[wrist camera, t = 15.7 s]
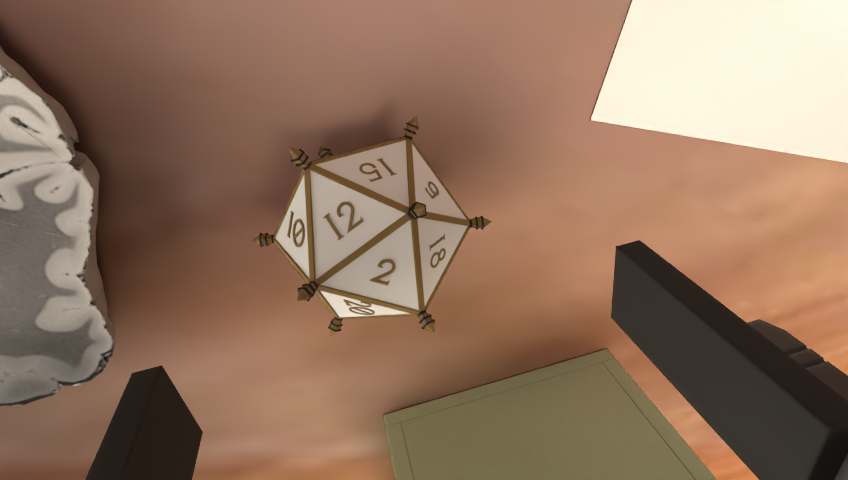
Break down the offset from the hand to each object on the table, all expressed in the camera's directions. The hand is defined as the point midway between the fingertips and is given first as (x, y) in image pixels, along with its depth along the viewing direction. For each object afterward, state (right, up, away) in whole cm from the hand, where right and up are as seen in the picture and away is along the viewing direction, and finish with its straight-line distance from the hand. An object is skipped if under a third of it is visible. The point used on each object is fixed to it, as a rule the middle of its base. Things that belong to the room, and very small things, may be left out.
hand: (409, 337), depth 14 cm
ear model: (+20, +17, +9) cm, 28 cm away
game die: (-3, +5, +9) cm, 11 cm away
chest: (+7, -14, +22) cm, 27 cm away
